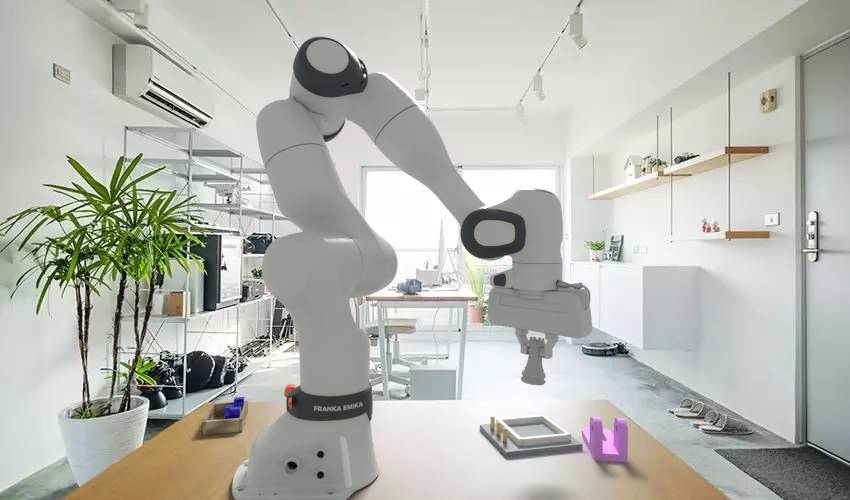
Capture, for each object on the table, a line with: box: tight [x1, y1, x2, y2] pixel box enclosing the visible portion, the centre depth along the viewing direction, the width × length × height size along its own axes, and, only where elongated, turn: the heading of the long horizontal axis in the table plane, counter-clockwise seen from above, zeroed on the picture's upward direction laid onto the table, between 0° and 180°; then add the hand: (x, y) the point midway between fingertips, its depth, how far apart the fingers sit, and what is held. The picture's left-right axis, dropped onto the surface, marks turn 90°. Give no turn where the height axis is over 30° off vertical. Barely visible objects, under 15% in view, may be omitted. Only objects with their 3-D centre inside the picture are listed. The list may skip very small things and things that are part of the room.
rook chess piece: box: [520, 336, 547, 386], centre depth 87 cm, size 4×4×8 cm
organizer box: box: [201, 400, 249, 436], centre depth 100 cm, size 7×11×2 cm, turn 14°
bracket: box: [581, 416, 629, 463], centre depth 91 cm, size 13×6×7 cm, turn 173°
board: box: [479, 414, 583, 459], centre depth 93 cm, size 15×13×4 cm
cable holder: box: [223, 396, 246, 419], centre depth 101 cm, size 8×4×4 cm, turn 14°
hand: (536, 355), depth 88 cm, fingers closed on rook chess piece, 3 cm apart
